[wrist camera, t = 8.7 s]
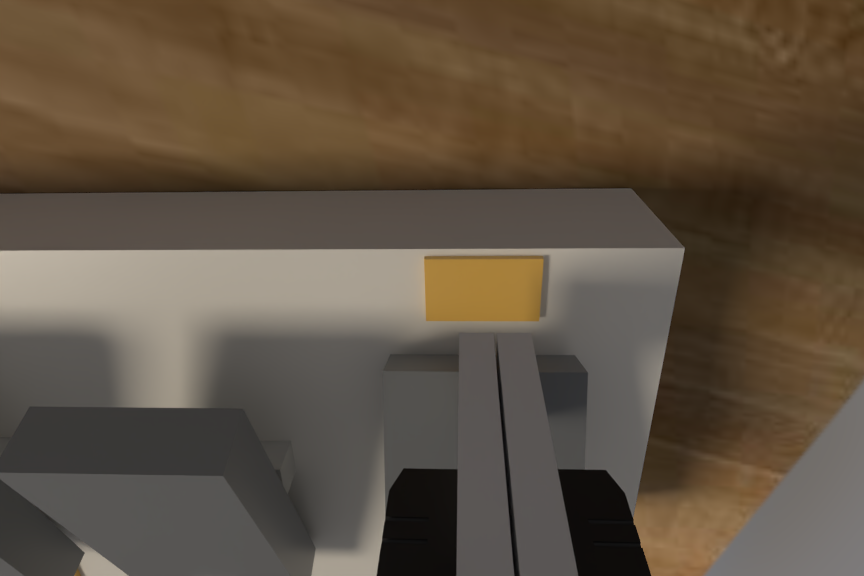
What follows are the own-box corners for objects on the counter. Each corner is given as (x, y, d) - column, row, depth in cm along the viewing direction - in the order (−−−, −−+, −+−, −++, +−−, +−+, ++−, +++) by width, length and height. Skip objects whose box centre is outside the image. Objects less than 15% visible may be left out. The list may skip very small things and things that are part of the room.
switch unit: (-127, 194, 20) (-352, 270, 14) (631, 188, 19) (702, 268, 13) (14, 489, 26) (-104, 620, 21) (587, 499, 25) (624, 640, 20)
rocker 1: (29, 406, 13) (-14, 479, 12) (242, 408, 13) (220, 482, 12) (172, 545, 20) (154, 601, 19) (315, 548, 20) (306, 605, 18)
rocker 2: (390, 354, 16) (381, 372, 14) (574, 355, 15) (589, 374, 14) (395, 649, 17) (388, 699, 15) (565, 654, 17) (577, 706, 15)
